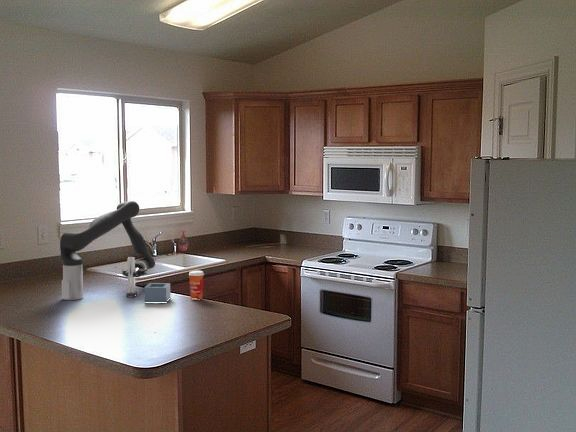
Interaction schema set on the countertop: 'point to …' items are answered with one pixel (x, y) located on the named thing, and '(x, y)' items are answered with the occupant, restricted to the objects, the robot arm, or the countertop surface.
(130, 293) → the white upright rod
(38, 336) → the countertop surface
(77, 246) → the robot arm
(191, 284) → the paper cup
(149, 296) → the grey open box
